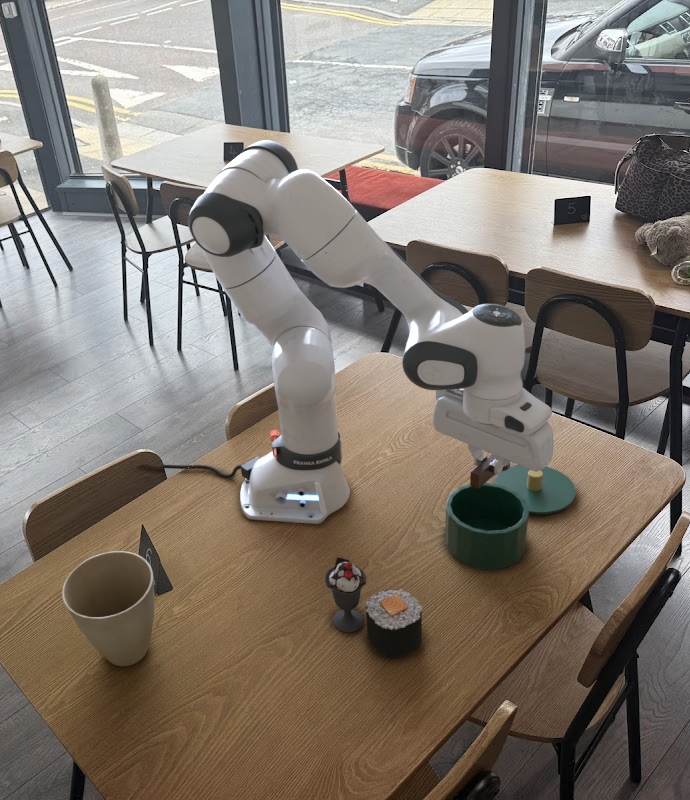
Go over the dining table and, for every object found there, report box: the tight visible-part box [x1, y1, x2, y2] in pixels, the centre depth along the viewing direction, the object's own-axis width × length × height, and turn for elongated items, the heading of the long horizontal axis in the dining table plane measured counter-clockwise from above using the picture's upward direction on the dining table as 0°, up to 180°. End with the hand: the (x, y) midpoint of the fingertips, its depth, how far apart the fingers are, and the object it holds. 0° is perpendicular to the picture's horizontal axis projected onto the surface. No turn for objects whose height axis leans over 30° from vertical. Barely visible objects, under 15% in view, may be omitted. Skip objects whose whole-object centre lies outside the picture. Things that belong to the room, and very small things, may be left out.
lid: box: [493, 464, 577, 515], centre depth 151 cm, size 15×15×5 cm
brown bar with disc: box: [469, 453, 511, 489], centre depth 134 cm, size 9×3×3 cm, turn 130°
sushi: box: [365, 588, 423, 660], centre depth 126 cm, size 8×8×8 cm
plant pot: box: [61, 550, 155, 667], centre depth 131 cm, size 15×15×16 cm
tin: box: [444, 482, 530, 570], centre depth 141 cm, size 14×14×8 cm
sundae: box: [324, 556, 367, 633], centre depth 129 cm, size 7×7×15 cm
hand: (488, 468), depth 134 cm, fingers closed on brown bar with disc
